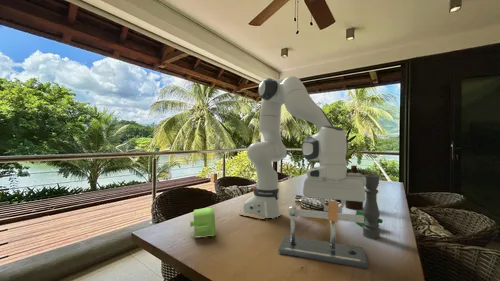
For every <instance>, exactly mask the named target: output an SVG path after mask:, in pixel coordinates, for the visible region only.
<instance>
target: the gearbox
mask: <svg viewBox="0 0 500 281" xmlns="http://www.w3.org/2000/svg"><path fill="white" fill-rule="evenodd" d="M215 216H216V214H215V211H214V208H213V207H204V208H198V209H193V220H190V221H189V222H190V224H189V226H190V228H192V227H194V228H193V229H194V230H193V231H194V237H195V236H206V235H216V217H215Z"/></svg>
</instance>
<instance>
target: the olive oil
mask: <svg viewBox="0 0 500 281" xmlns="http://www.w3.org/2000/svg"><path fill="white" fill-rule="evenodd" d="M349 173H358V165H350V172H349ZM360 177H362V176H360ZM363 206H364V201H363V202H359V201H347V200H346V204H345V205H344V207H345V208H347V209H350V210H356V211H360V210H364V207H363Z"/></svg>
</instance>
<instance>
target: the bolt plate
mask: <svg viewBox="0 0 500 281" xmlns="http://www.w3.org/2000/svg"><path fill="white" fill-rule="evenodd" d="M279 252H280V253H285V254H289V255H288V256H291V255H294V256H293V257H297V256H299V257H298V258H303V257H305V258H304V259H308V258H309V260H315V261H321V262H326V263H327V262H328V263H333V264H338V265H345V266H350V267H351V266H352V267H355V268H357V267H358V268H362V269H367V270H368V269H369V263H368V259H367V256H366V253H365V249H364V247H363V246H359V245H353V244H352V245H351V244H345V243H344V244H343V243H338V242H335V249H331V248H330V241H323V240H315V239H309V238H303V237H302V238H301V237H296V236H295V243H294V244H292V243H291V236H288V235H285V236H284V237H283V239H282V241H281V244H280V245H279V247H278V253H279ZM285 254H284V255H285Z"/></svg>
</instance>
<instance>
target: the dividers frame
mask: <svg viewBox="0 0 500 281" xmlns="http://www.w3.org/2000/svg"><path fill="white" fill-rule="evenodd" d="M288 208H289V209H288V218H289V219H290V237H291V243H292V244H294V243H295V237H296V219H297V217H306V218H315V219H324V220H325V219H326V220H328V212H326V211H324V210H323V211H321V210H312V209H302V208H297V206H296V205H290V206H289V207H288ZM338 221H342V222H343V221H344V222H351V223H352V222H353V223H356V222H359V223H364V216H363V215H356V214H352V213H351V214H350V213H343V212H342V213H338Z"/></svg>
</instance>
